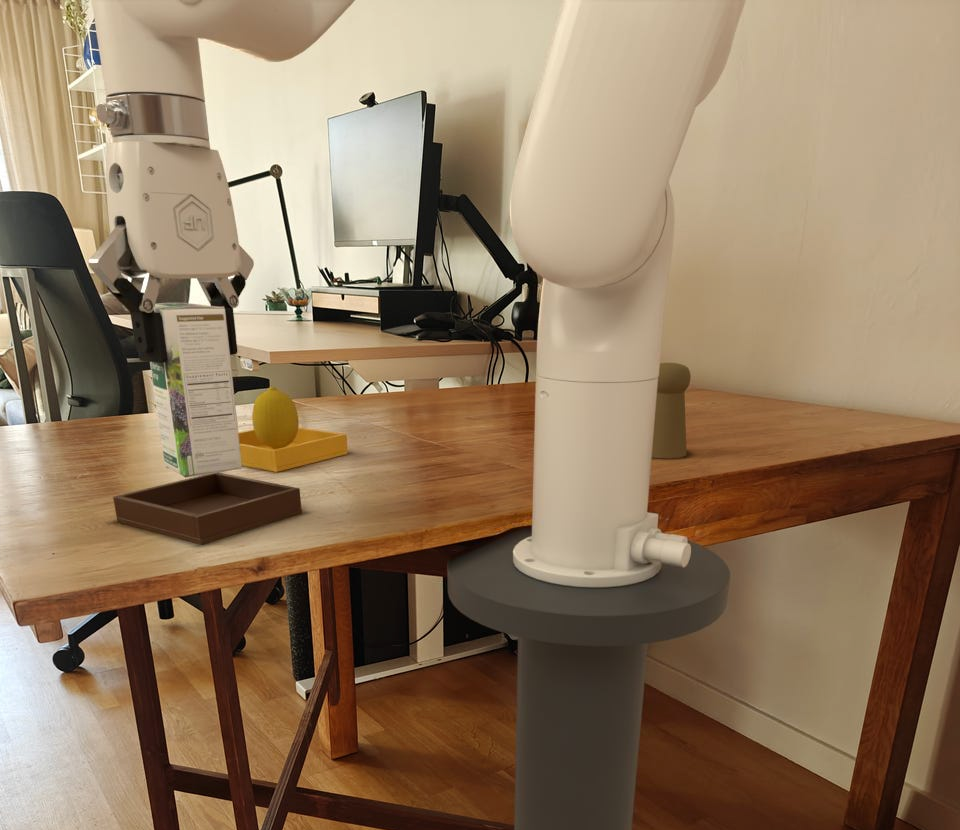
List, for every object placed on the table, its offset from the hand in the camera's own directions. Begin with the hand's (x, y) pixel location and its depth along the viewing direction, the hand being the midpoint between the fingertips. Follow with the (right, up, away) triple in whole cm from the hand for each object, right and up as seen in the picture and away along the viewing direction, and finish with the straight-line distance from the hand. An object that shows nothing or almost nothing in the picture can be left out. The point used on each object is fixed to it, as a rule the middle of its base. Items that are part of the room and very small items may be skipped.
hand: (189, 355), depth 77 cm
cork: (+49, -2, +33) cm, 59 cm away
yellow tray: (+1, -2, +31) cm, 31 cm away
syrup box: (0, -9, +4) cm, 10 cm away
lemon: (+1, -2, +31) cm, 31 cm away
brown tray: (0, -14, +6) cm, 15 cm away
